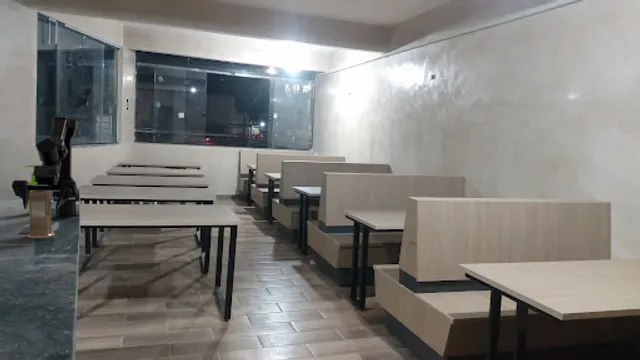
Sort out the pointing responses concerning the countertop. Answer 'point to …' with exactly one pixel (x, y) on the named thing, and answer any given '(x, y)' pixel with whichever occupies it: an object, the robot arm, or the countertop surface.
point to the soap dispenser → (31, 182)
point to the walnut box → (40, 213)
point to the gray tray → (27, 227)
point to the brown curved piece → (41, 236)
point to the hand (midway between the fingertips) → (40, 208)
